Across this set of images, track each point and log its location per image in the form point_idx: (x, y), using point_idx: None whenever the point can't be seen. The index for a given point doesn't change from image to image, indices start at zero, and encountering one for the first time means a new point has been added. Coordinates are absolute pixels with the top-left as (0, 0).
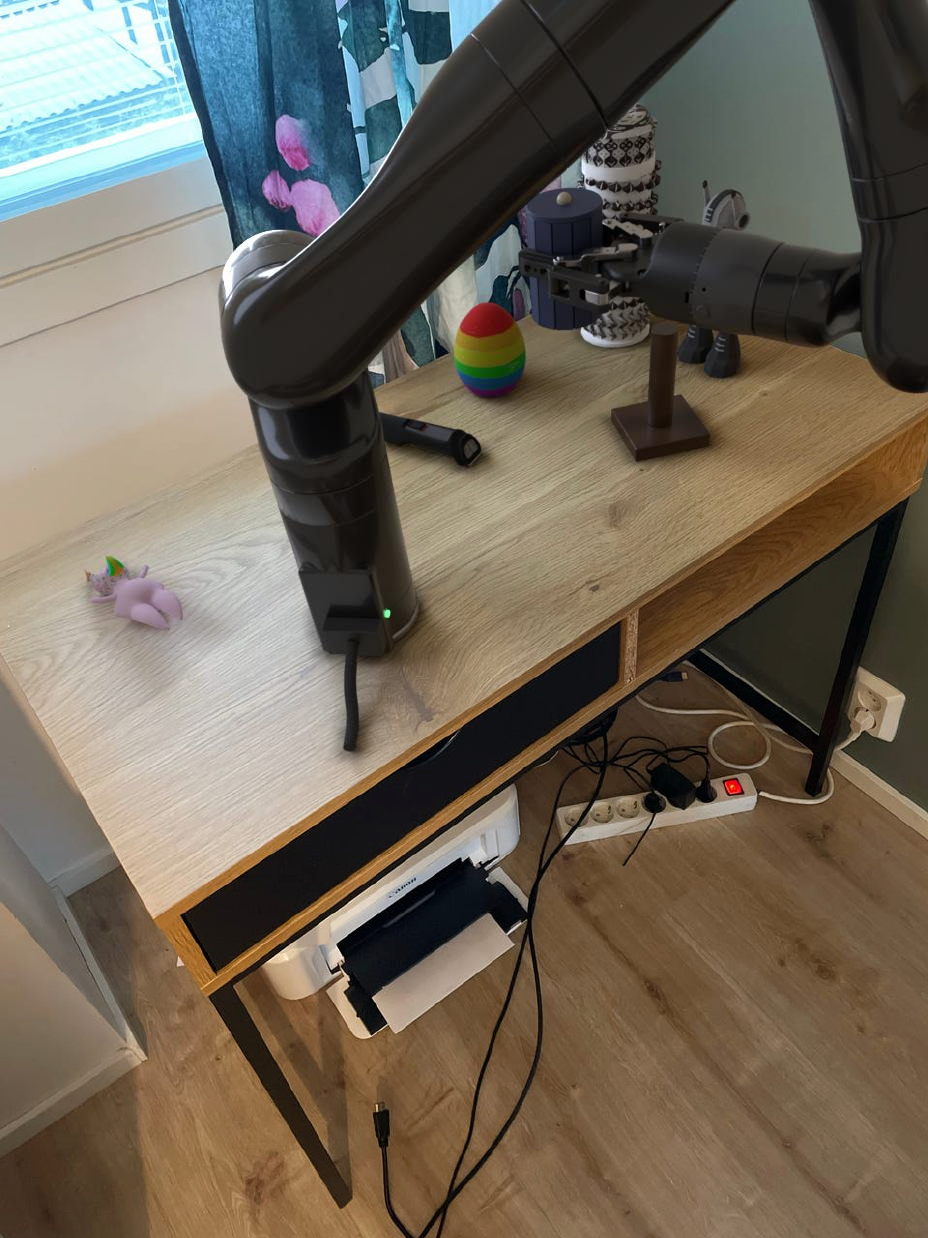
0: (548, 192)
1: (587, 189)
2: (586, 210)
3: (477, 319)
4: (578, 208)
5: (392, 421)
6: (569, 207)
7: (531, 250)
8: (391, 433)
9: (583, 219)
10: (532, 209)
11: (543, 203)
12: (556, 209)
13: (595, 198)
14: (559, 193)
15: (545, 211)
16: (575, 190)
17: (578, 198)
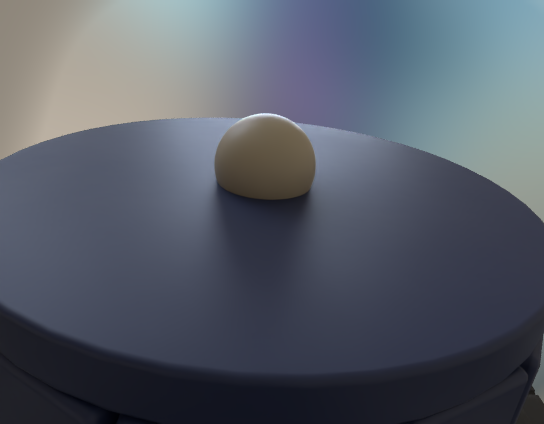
0: (343, 136)
1: (533, 216)
2: (139, 315)
3: None
4: (172, 253)
5: None
6: (185, 212)
7: None
8: None
9: (35, 373)
10: (117, 130)
11: (211, 142)
12: (132, 178)
13: (459, 289)
14: (363, 156)
15: (88, 155)
16: (457, 185)
17: (366, 214)
